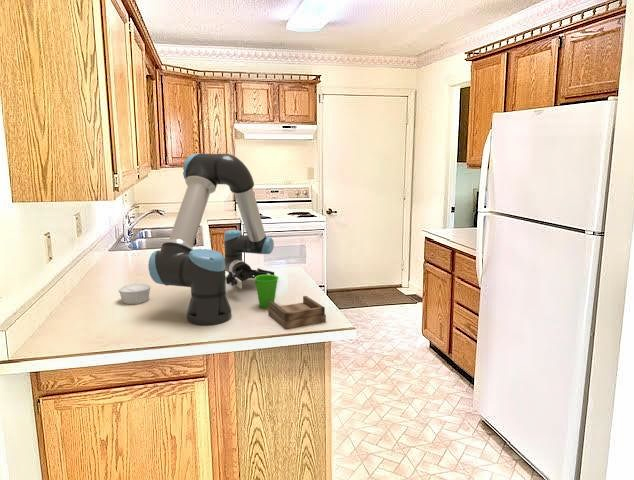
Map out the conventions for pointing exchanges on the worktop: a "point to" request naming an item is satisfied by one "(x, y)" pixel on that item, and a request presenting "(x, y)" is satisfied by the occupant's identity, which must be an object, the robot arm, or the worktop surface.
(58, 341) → the worktop surface
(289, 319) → the wooden tray
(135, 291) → the ramekin
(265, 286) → the cup
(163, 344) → the worktop surface
